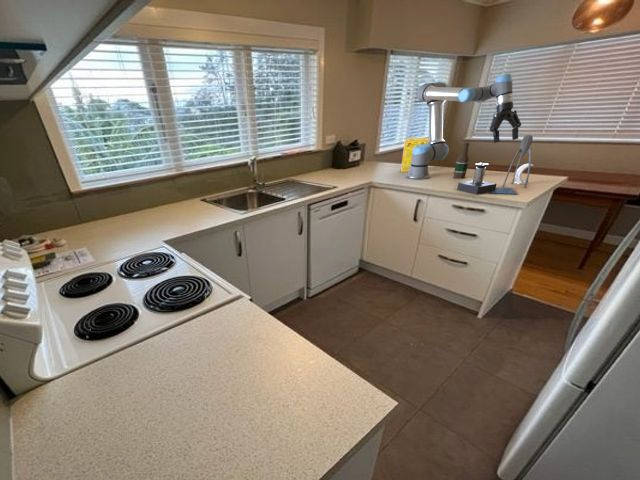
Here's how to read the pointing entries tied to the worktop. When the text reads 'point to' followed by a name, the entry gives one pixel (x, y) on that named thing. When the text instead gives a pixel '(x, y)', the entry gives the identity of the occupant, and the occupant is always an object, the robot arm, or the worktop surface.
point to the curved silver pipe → (519, 172)
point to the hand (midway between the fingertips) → (506, 140)
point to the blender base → (476, 187)
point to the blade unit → (479, 173)
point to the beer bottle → (462, 163)
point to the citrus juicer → (524, 149)
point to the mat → (503, 191)
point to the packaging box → (410, 151)
